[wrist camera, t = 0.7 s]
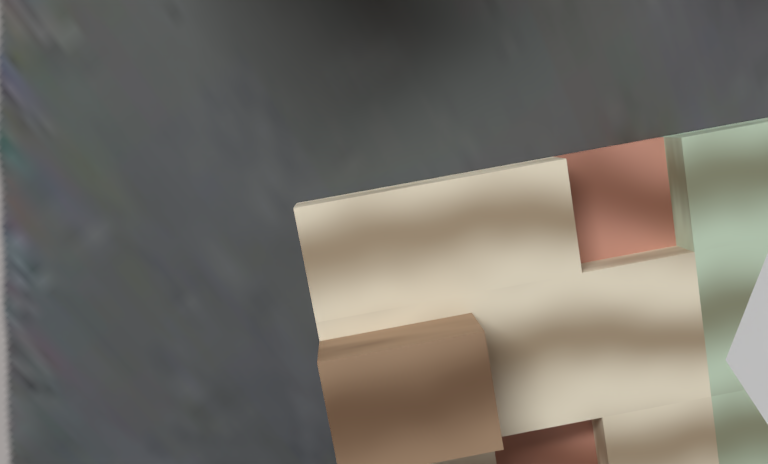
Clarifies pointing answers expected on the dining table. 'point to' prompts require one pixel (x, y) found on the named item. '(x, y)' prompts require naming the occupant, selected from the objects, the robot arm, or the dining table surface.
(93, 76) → the dining table surface
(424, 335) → the walnut block
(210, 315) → the dining table surface
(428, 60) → the dining table surface
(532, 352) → the platform
